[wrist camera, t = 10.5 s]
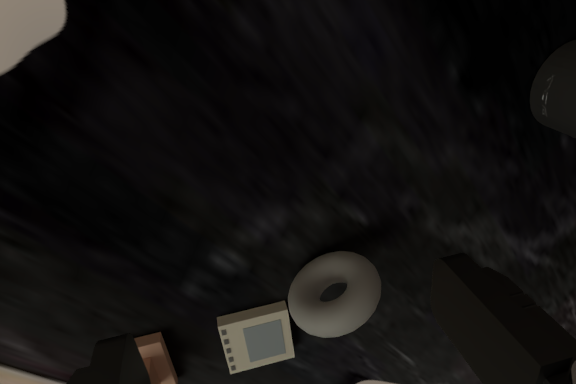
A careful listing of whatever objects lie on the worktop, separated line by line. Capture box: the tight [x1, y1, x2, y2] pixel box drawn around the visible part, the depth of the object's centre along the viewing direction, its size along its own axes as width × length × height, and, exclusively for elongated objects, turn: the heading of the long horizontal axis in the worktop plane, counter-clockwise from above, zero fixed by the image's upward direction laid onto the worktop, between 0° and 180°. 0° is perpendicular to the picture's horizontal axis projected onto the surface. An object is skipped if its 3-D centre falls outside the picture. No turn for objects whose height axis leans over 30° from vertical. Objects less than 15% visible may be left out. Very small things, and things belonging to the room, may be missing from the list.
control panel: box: [217, 301, 295, 374], centre depth 49 cm, size 8×8×2 cm
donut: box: [288, 251, 381, 338], centre depth 42 cm, size 10×4×10 cm, turn 116°
